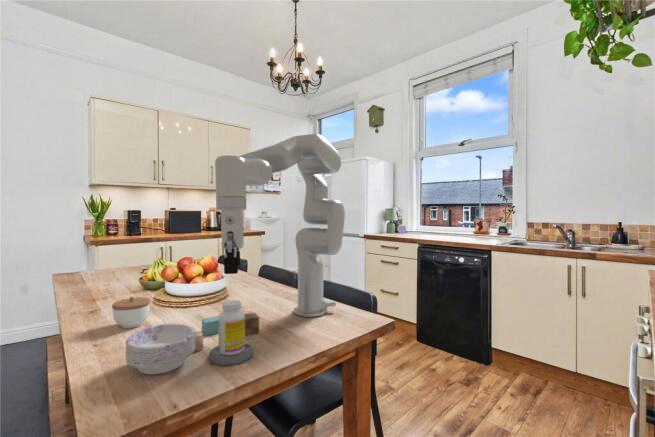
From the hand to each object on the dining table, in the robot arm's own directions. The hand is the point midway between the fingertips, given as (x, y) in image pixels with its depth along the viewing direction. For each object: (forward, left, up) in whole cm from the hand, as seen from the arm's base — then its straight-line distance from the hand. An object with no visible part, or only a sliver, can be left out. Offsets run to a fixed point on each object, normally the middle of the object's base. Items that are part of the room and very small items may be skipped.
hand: (232, 269), depth 84 cm
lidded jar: (+34, -29, -23) cm, 50 cm away
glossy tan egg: (+10, -6, -23) cm, 26 cm away
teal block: (+7, -18, -23) cm, 30 cm away
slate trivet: (0, 0, -23) cm, 23 cm away
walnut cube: (-4, -16, -23) cm, 28 cm away
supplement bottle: (0, 0, -22) cm, 22 cm away
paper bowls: (+17, +2, -23) cm, 29 cm away
